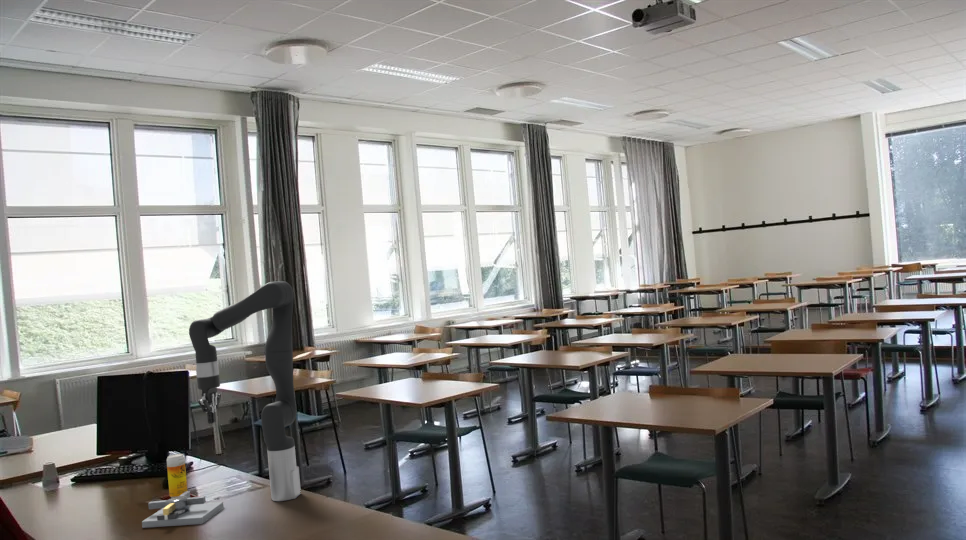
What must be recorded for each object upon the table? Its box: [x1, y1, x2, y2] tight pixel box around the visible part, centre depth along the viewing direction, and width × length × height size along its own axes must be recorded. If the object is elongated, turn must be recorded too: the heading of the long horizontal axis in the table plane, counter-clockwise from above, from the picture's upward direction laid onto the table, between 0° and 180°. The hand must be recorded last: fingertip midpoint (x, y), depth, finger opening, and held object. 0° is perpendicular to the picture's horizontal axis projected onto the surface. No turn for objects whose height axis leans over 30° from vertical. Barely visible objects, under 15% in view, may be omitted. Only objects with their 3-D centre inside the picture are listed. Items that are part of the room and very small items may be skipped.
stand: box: [141, 501, 225, 529], centre depth 227 cm, size 20×15×3 cm
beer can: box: [166, 453, 188, 499], centre depth 252 cm, size 6×6×15 cm
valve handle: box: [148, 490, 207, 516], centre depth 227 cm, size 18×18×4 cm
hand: (212, 423), depth 245 cm, fingers closed
